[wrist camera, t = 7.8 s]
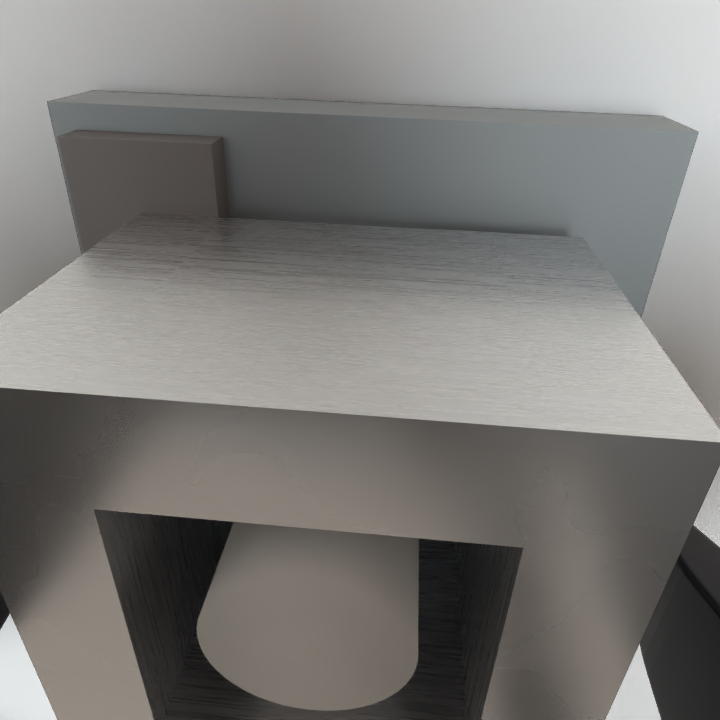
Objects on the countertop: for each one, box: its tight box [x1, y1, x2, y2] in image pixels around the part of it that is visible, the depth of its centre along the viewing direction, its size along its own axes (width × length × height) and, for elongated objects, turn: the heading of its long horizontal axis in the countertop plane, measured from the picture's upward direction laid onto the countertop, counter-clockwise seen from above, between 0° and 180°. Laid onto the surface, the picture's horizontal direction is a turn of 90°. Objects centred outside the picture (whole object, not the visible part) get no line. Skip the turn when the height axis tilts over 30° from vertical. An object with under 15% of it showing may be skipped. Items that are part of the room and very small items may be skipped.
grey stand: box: [47, 91, 698, 711], centre depth 10 cm, size 10×10×7 cm
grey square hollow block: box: [0, 213, 720, 720], centre depth 9 cm, size 7×7×5 cm
